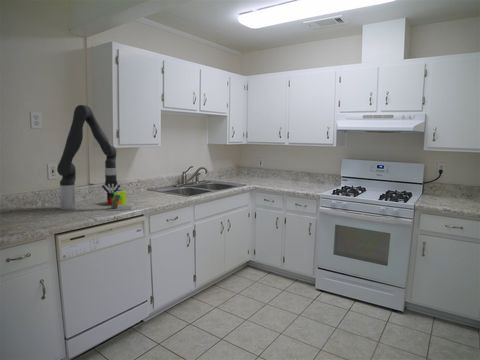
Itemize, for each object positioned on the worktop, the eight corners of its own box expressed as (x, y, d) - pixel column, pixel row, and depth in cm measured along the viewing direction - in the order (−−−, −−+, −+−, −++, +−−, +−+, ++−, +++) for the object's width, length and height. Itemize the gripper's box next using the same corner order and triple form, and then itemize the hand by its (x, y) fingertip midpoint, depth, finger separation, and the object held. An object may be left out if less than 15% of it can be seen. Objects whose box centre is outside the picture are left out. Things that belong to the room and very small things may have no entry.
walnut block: (110, 207, 235) (114, 194, 234) (111, 206, 238) (115, 193, 238) (116, 208, 236) (120, 195, 235) (116, 207, 240) (120, 194, 239)
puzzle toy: (119, 201, 261) (118, 189, 260) (126, 203, 255) (125, 191, 254) (107, 203, 254) (107, 191, 252) (114, 205, 248) (113, 192, 246)
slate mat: (107, 210, 230) (107, 210, 230) (108, 207, 242) (108, 206, 242) (131, 209, 235) (131, 209, 235) (131, 206, 246) (131, 205, 246)
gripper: (100, 174, 228) (101, 199, 230) (120, 174, 232) (121, 198, 234) (101, 173, 235) (102, 197, 237) (120, 173, 239) (121, 196, 241)
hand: (111, 197), depth 236 cm, fingers closed
